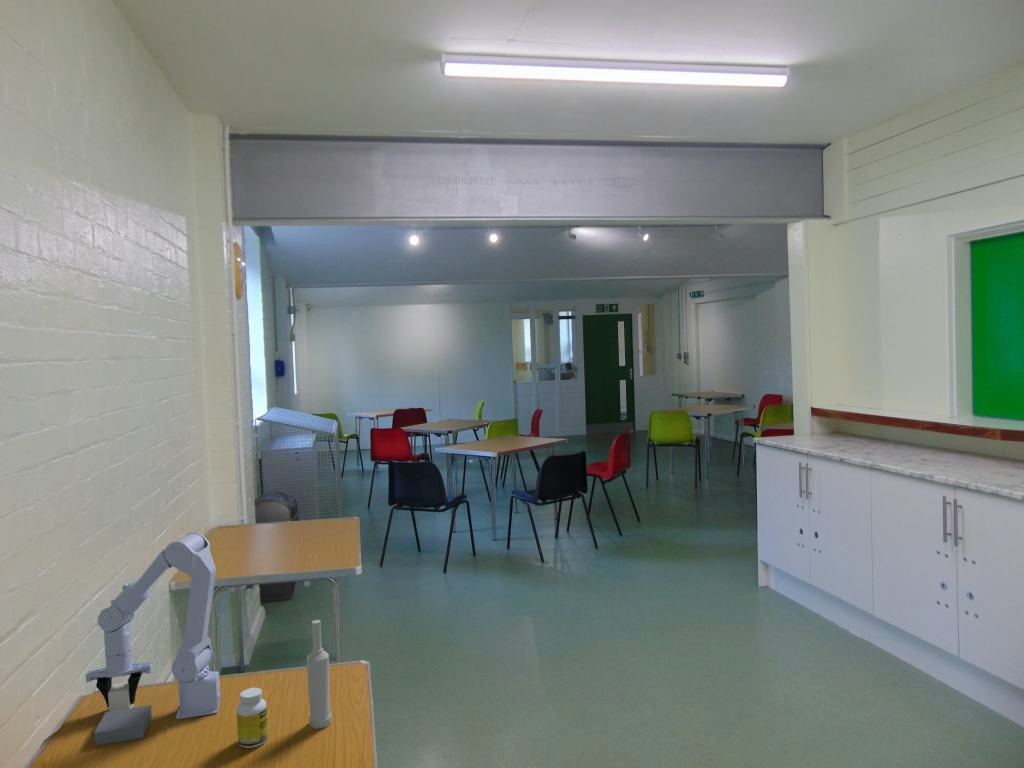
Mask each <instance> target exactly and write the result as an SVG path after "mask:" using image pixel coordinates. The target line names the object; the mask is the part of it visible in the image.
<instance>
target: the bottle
mask: <svg viewBox="0 0 1024 768" xmlns="http://www.w3.org/2000/svg"><path fill="white" fill-rule="evenodd" d="M321 625H322V623H321V620H320V619H315V620H312V621H311V631H312V649H311V652H310V653H309V654H308V655H307V656H306V669H307V670H306V671H307V684H308V685H307V687H308V700H309V717H308V719H309V720H308V721H309V725H310V727H311V728H312V729H315V730H318V729H324V728H327V727H328V726H330V724H331V723H332V712H331V707H330V706H331V705H330V704H331V702H330V701H331V698H330V696H331V695H330V654H329V653H328V652H327V651H325V650H324V648H323V647H322V626H321Z"/></svg>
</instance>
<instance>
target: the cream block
mask: <svg viewBox="0 0 1024 768" xmlns="http://www.w3.org/2000/svg"><path fill="white" fill-rule="evenodd" d="M108 699H109V708H108V711H114V710H121V709H127V708H134V705H135V703H134V704H130V690H129V684H128V681H126V682H120V683H116V684H115V683H114V684H113V683H112V687H111V689H110V690H109V692H108Z"/></svg>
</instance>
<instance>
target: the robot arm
mask: <svg viewBox="0 0 1024 768" xmlns="http://www.w3.org/2000/svg"><path fill="white" fill-rule="evenodd" d="M210 546H211V543H210V541H209V540H208V539H207V538H206V537H205V536H204V535H203V534H202V533H199V532H196V531H192V532H191V531H190V532H189V533H187V534H185V535H184V536H183V537H181V538H179V539H178V540H175V541H173V542H170V543H169V544H168V545H167V546H166V548H164V549H163V550H161V551H160V552H159V554H158V555H157V557H155V559H154V560H153V561H152V563H150V565H149V566H148V568H147V569H146V570H145V571H144V573H143V574H141V576H140V578H139V579H138V580H131V581H130V582H126V583H125V584H124V585H123V586H122V587H121V589H122V591H121V592H120V593H119V595H118V596H117V597H114V598H112V600H111V601H110V603H111V604H110V606H108V607H105V608H104V609H102V610H100V613H99V615H98V617H97V623H98V626H99V628H100V629H102V630H103V639H104V641H103V643H104V655H105V657H104V658H105V667H102V668H101V667H100V668H97V669H93V670H88V671H87V672H86V674H85V681H86V683H88V682H89V683H90V682H92V681H96V683H95V686H96V688H97V690H98V691H99V692H100V693H101V695H102V697H103V699H104V701H105V703H106V706H107V709H109V699H108V692H109V690H110V689H111V687H112V685H113V683H112V681H113V678H118V677H124V676H129V677H128V679H127V682H128V684H129V690H130V704H134V705H135V702H136V696H137V690H138V686H139V683H140V680H141V677H142V675H143V674H147V675H148V674H151V673H152V671H153V662H133V659H132V643H131V621H132V619H133V618H134V616H135V613H136V611H137V610H138V609H139V608H141V606H142V605H143V603H145V601H146V600H147V599H148V598H149V597H150V594H151V591H150V588H151V587H152V586H153V585H154V584H155V582H157V581H158V579H159V578H160V577H161V576H162V575H163V574H164V573H166V571H167V570H168V569H171V568H175V569H176V570H178V571H180V572H182V573H183V574H185V575H187V576H188V577H189V578H190V579H191V582H190V590H189V596H188V597H189V598H188V603H187V604H188V605H187V613H186V617H185V618H186V619H185V627H184V633H183V634H184V635H183V639H182V643H181V644H180V646H179V648H178V651H177V656H176V659H175V660H174V661H173V663H172V665H171V672H172V675H173V677H174V679H176V680H177V686H178V704H179V705H178V706H179V708H178V710H177V712H176V715H175V720H184V719H189V718H195V717H201V716H202V717H203V716H207V715H213V714H214V715H215V714H217V713H218V712H219V707H220V703H221V699H222V697H221V687H220V686H221V685H220V672H219V671H212V670H210V663H211V662H212V660H213V658H214V652H213V647H212V638H210V637H209V636H208V635H209V633H208V632H209V625H210V619H211V617H210V616H211V611H212V603H213V602H212V601H213V595H214V590H215V589H214V587H215V579H216V573H217V569H216V564H215V562H214V560H213V556H212V554H211V553H212V552H211V550H210V549H211V547H210Z"/></svg>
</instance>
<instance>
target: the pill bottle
mask: <svg viewBox="0 0 1024 768" xmlns="http://www.w3.org/2000/svg"><path fill="white" fill-rule="evenodd" d="M262 690H263V689H261V688H260V687H250V688H247V689H244V690H242V691H241V692H240V694H239V697H240V699H239V700H240V703H239V704H238V705H237V707H236V720H237V721H236V722H237V723H236V724H237V740H238V741H237V743H238V745H239V746H240V747H242V748H244V749H253V748H257V747H259V746H261V745H263V744H264V743H265V742H266V741H267V740H268V739H269V729H268V728H269V726H268V709H267V706H268V705H267V701H266V700H265V699H263V698H262V697H263V691H262Z"/></svg>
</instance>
